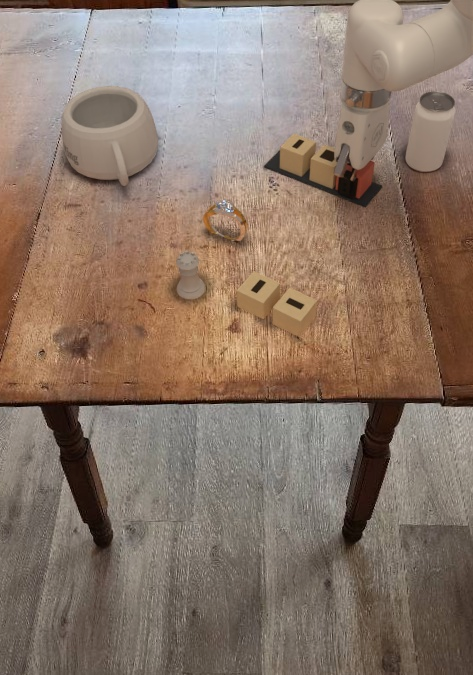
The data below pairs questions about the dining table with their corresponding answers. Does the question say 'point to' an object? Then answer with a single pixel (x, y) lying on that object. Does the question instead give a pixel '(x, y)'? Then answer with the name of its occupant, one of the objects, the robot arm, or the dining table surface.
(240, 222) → the ring
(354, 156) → the robot arm
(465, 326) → the dining table surface
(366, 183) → the red block
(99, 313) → the dining table surface
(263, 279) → the slotted blocks
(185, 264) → the rook chess piece
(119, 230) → the dining table surface
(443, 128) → the can
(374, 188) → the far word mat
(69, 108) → the mug
